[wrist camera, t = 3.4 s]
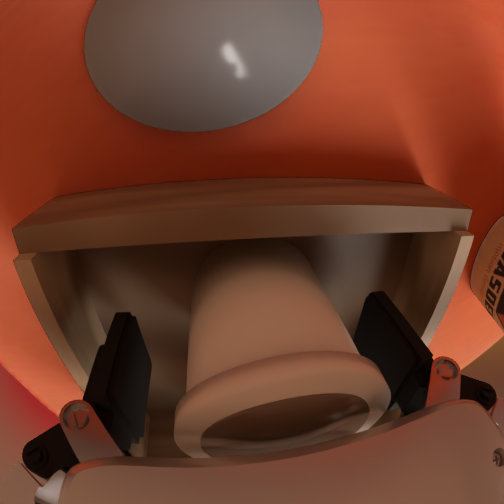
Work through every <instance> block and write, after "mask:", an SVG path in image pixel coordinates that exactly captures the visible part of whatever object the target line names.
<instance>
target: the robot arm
mask: <svg viewBox="0 0 504 504" xmlns="http://www.w3.org/2000/svg"><path fill="white" fill-rule="evenodd" d="M353 342H354V344H355V346H356V348H357V350H358V352H359V354H360V355H361V356H364V357H366V358H368V359H370V360H371V361H373V362H374V363H375V364H376V365H377V366H378V368H379V370H380V372H381V373H382V375H383V377H384V379H385V381H386V383H387V385H388V387H389V389H390V391H391V399H390V403H389V405H388V407H387V409H388V411H390V410H393V409H396V408H398V407H400V409H401V414H400V417H399V419H396V420H393V421H390V422H388V423H385V424H382V425H379V426H377V427H374V428H371V429H368V430H364V431H361V432H358V433H355V434H351V435H348V436H344V437H341V438H337V439H333V440H329V441H325V442H321V443H317V444H312V445H308V446H303V447H298V448H292V449H287V450H281V451H274V452H267V453H260V454H251V455H241V456H229V457H212V458H158V457H134V456H133V455H132V454H131V453H130V451H129V450H130V448H131V443H134V444H139V442H140V438H143V437H144V431H145V420H146V410H147V401H148V393H149V385H150V378H151V371H152V362H151V359H150V356H149V353H148V351H147V348H146V345H145V342H144V339H143V337H142V334H141V331H140V328H139V325H138V322H137V318H136V316H132V315H131V313H130V312H116V313H115V315H114V318H113V321H112V323H111V326H110V329H109V332H108V335H107V338H106V341H105V344H103V345H100V346H99V348H98V351H97V354H96V357H95V360H94V363H93V366H92V369H91V373H90V376H89V379H88V382H87V386H86V389H85V393H84V396H83V400H73V401H70V402H68V403H67V404H65V405H64V407H63V408H62V409H61V412H60V414H59V421H60V423H59V424H57V425H55V426H54V427H52V428H50V429H49V430H47V431H46V432H44V433H43V434H41V435H39V436H38V437H36V438H34V439H33V440H31V441H29V442H28V443H27V444H26V445H25V447H24V449H23V453H22V458H23V461H22V463H20V462H19V461H18V462H17V463H16V465H15V466H14V467H13V468H12V470H11V471H10V472H9V473H8V475H7V476H6V477H5V478H4V480H3V481H2V482H1V483H0V504H57V503H58V504H504V399H502V398H501V397H498V398H497V397H496V392H495V390H494V389H493V387H492V386H491V385H490V384H488V383H485V382H482V381H479V380H476V379H473V378H470V377H467V376H464V375H461V371H460V367H459V365H458V364H457V363H456V362H455V361H454V360H453V359H451V358H449V357H444V356H442V357H438V358H436V359H435V360H433V359H432V356H433V354H432V353H431V352H430V350H429V349H428V348H427V346H426V345H425V343H424V342H423V341H422V339H421V338H420V337H419V335H418V334H417V333H416V331H415V330H414V329H413V327H412V326H411V325H410V324H409V322H408V321H407V320H406V318H405V317H404V316H403V315H402V313H401V312H400V311H399V310H398V308H397V307H396V306H395V304H394V303H393V302H392V301H391V300H390V298H389V297H388V296H387V295H386V293H385V292H384V291H377V292H371V293H370V294H369V295H368V296H367V297H366V298H365V302H364V305H363V309H362V312H361V315H360V319H359V322H358V325H357V328H356V331H355V334H354V338H353Z"/></svg>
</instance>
